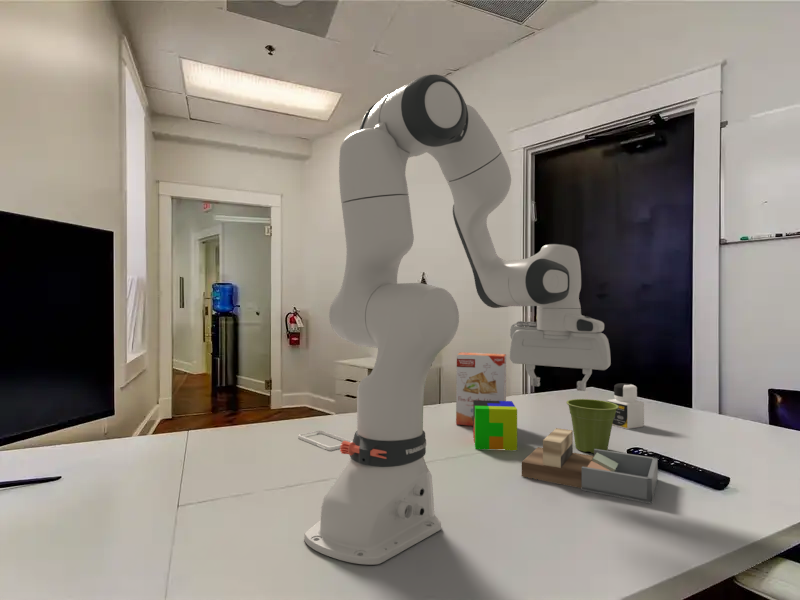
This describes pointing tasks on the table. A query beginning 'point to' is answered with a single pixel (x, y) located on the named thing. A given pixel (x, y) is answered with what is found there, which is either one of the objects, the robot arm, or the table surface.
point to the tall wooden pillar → (557, 447)
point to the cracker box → (478, 382)
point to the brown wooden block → (556, 468)
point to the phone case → (323, 444)
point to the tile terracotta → (596, 466)
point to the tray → (623, 477)
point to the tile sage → (605, 462)
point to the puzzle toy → (494, 425)
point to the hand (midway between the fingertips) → (557, 388)
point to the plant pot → (591, 423)
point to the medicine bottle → (627, 407)
